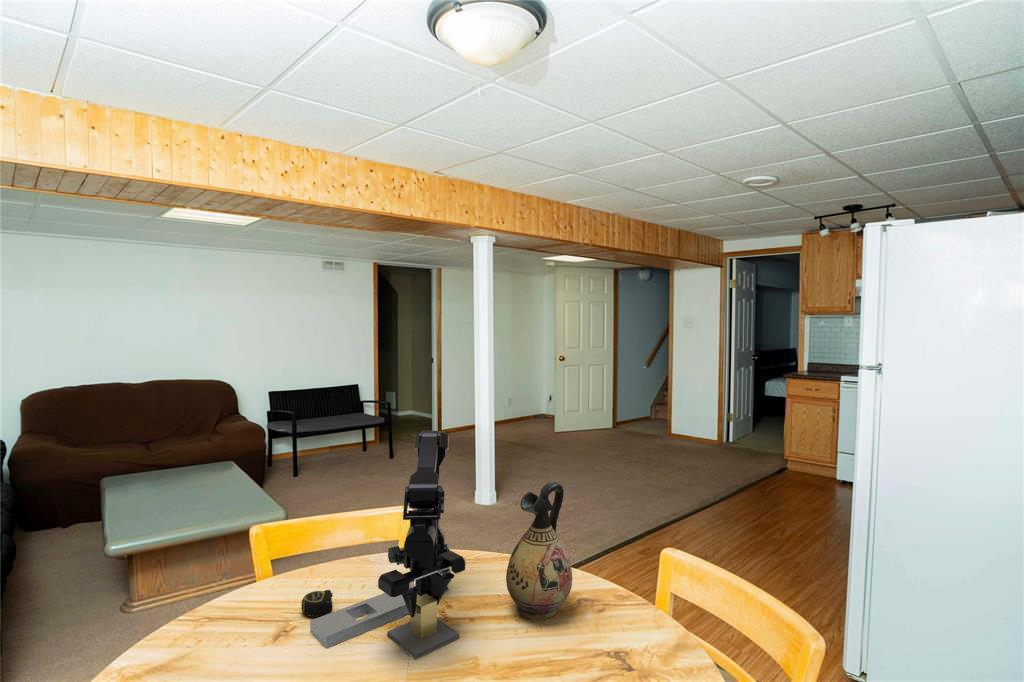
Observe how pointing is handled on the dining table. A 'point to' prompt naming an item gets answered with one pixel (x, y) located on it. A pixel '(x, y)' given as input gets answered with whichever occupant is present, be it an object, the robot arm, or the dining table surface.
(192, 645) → the dining table surface
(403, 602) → the metal plate
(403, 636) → the rubber mat
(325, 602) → the tape measure
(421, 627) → the brass block
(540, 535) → the ceramic jug
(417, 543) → the robot arm
